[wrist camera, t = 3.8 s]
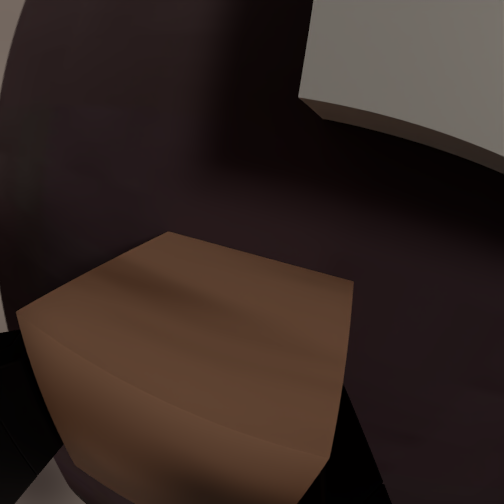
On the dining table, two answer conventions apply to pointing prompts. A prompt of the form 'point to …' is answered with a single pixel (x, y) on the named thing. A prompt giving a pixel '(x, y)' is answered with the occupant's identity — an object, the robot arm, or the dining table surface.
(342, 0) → the grey base
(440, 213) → the dining table surface
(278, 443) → the terracotta cube
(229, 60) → the dining table surface
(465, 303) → the dining table surface
